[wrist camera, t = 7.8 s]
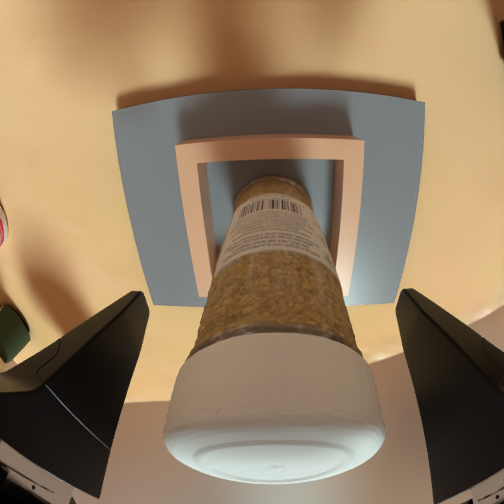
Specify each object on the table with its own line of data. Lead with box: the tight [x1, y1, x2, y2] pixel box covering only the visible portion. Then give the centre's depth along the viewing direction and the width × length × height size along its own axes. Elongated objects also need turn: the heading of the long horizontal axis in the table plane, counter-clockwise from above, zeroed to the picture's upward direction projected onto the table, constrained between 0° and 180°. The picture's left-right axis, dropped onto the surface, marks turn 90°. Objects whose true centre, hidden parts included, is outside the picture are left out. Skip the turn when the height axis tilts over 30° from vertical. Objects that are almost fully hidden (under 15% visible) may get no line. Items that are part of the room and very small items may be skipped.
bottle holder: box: [112, 89, 425, 307], centre depth 16 cm, size 18×14×3 cm
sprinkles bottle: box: [163, 176, 385, 484], centre depth 10 cm, size 5×5×14 cm
